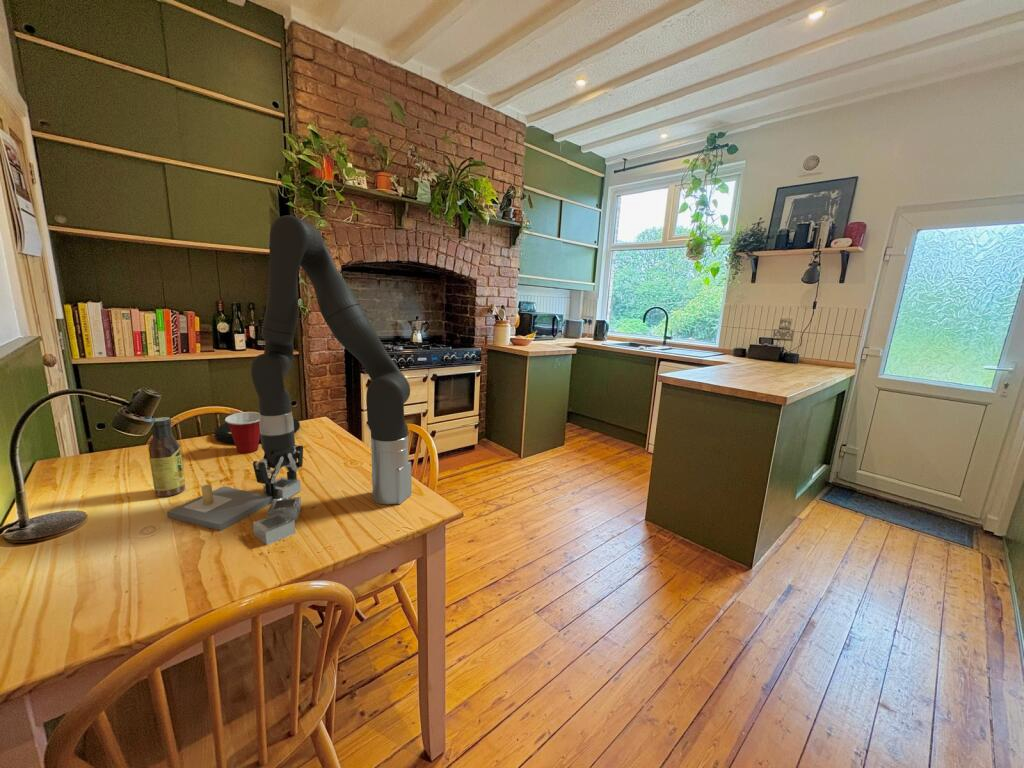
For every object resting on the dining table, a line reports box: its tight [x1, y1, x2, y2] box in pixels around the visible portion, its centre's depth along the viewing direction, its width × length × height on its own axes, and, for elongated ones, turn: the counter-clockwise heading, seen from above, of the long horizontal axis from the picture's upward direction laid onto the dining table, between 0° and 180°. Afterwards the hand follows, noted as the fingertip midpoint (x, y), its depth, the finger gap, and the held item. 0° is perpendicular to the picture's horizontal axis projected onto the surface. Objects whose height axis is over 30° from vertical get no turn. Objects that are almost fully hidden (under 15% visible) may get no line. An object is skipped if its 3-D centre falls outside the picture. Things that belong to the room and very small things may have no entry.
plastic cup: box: [224, 411, 260, 455], centre depth 135 cm, size 11×11×12 cm
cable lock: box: [213, 417, 301, 445], centre depth 153 cm, size 28×4×30 cm
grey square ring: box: [262, 476, 302, 500], centre depth 108 cm, size 6×6×3 cm
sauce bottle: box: [148, 416, 186, 498], centre depth 105 cm, size 7×6×20 cm
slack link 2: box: [252, 512, 296, 546], centre depth 90 cm, size 6×6×3 cm
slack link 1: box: [267, 496, 302, 521], centre depth 98 cm, size 6×6×3 cm
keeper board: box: [166, 483, 273, 531], centre depth 99 cm, size 16×14×6 cm
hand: (282, 489), depth 108 cm, fingers closed on grey square ring, 6 cm apart
